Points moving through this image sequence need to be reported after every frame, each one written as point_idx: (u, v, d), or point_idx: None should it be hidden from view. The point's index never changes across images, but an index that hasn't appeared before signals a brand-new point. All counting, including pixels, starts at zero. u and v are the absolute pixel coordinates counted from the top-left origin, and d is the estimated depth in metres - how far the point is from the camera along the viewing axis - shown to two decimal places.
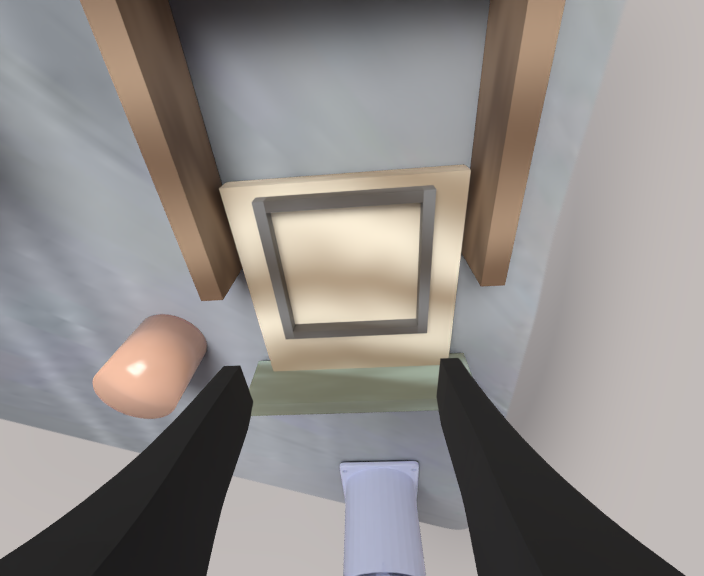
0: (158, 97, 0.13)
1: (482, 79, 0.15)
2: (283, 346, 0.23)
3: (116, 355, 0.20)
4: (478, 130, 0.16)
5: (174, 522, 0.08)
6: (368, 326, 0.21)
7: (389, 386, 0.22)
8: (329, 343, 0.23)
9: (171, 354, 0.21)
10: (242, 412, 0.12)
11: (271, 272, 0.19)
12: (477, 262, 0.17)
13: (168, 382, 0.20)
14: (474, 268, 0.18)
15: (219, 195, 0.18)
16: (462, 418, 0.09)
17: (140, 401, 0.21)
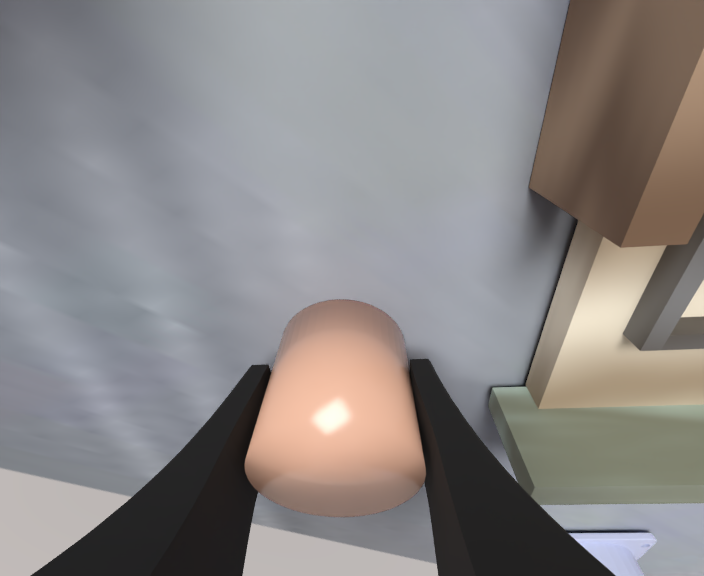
0: None
1: None
2: (591, 363, 0.11)
3: (299, 389, 0.09)
4: None
5: (216, 522, 0.08)
6: None
7: None
8: (690, 358, 0.11)
9: (400, 384, 0.10)
10: None
11: None
12: None
13: (421, 453, 0.09)
14: None
15: None
16: (425, 419, 0.09)
17: (338, 489, 0.09)
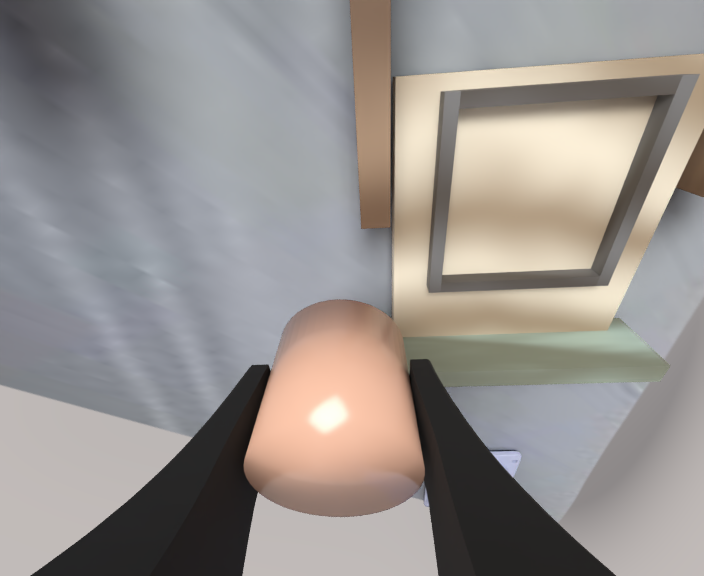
0: None
1: None
2: (415, 304, 0.19)
3: (299, 389, 0.09)
4: None
5: (216, 522, 0.08)
6: (534, 276, 0.17)
7: (547, 354, 0.18)
8: (472, 301, 0.19)
9: (400, 384, 0.10)
10: None
11: (440, 197, 0.15)
12: None
13: (420, 453, 0.09)
14: None
15: None
16: (425, 419, 0.09)
17: (337, 488, 0.09)
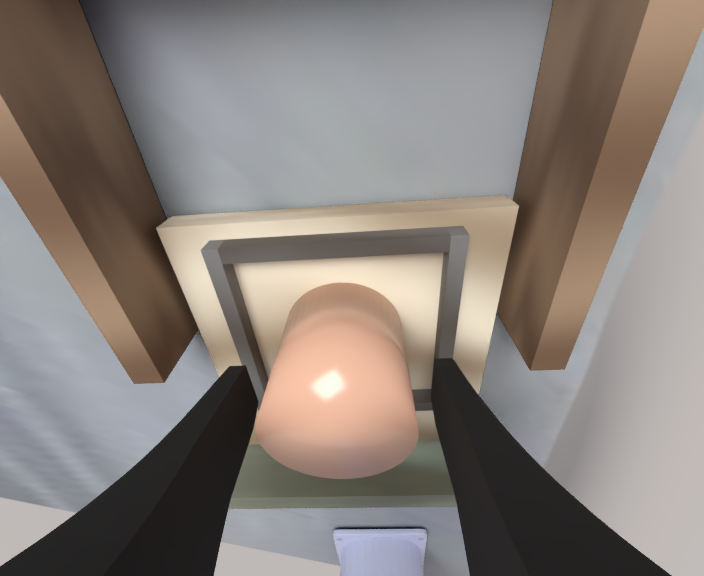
0: (26, 97, 0.08)
1: (542, 73, 0.10)
2: None
3: (306, 357, 0.10)
4: (530, 148, 0.11)
5: (182, 522, 0.08)
6: None
7: (395, 473, 0.17)
8: None
9: (397, 356, 0.11)
10: (248, 412, 0.12)
11: (235, 338, 0.14)
12: (524, 333, 0.12)
13: (414, 415, 0.10)
14: (517, 339, 0.13)
15: None
16: (455, 418, 0.09)
17: (339, 450, 0.10)
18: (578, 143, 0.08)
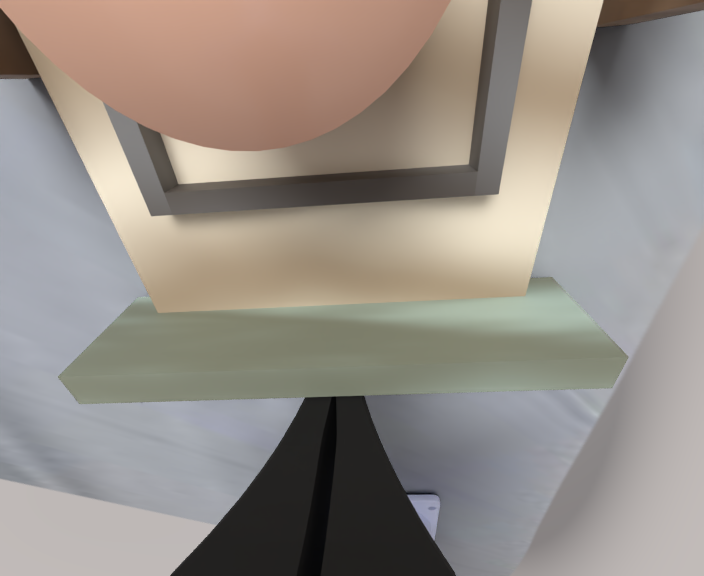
0: None
1: None
2: (164, 248, 0.10)
3: None
4: None
5: (320, 521, 0.08)
6: (351, 177, 0.08)
7: (400, 336, 0.10)
8: (266, 240, 0.10)
9: None
10: None
11: None
12: None
13: None
14: None
15: None
16: None
17: None
18: None
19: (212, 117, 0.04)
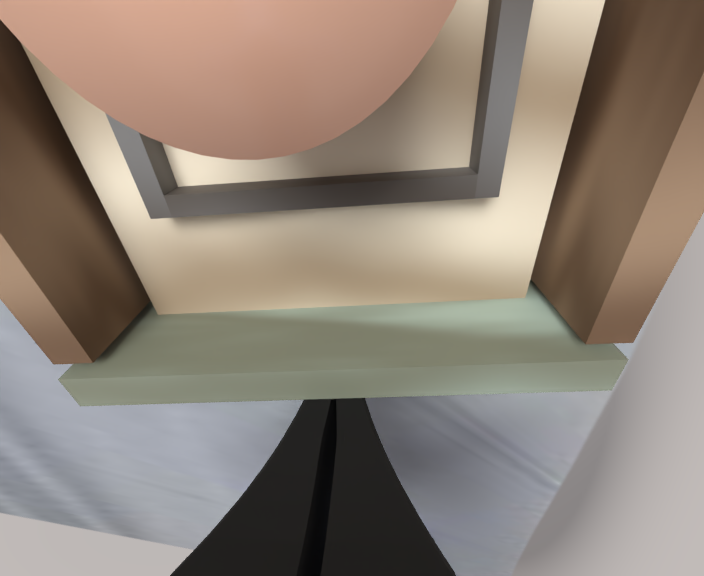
0: None
1: None
2: (164, 251, 0.10)
3: None
4: None
5: (320, 521, 0.08)
6: (350, 180, 0.08)
7: (401, 339, 0.10)
8: (265, 242, 0.10)
9: None
10: None
11: None
12: (576, 296, 0.09)
13: None
14: (564, 305, 0.09)
15: None
16: None
17: None
18: None
19: (212, 126, 0.04)
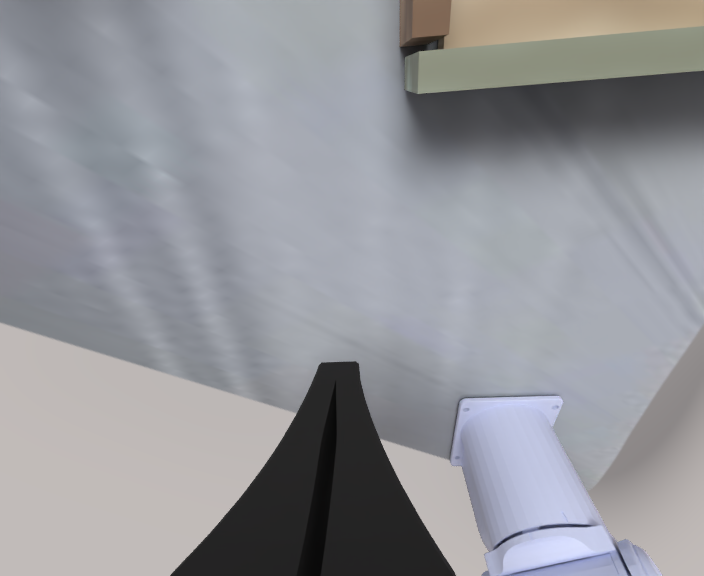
0: None
1: None
2: None
3: None
4: None
5: (320, 521, 0.08)
6: None
7: None
8: None
9: None
10: None
11: None
12: None
13: None
14: None
15: None
16: None
17: None
18: None
19: None
